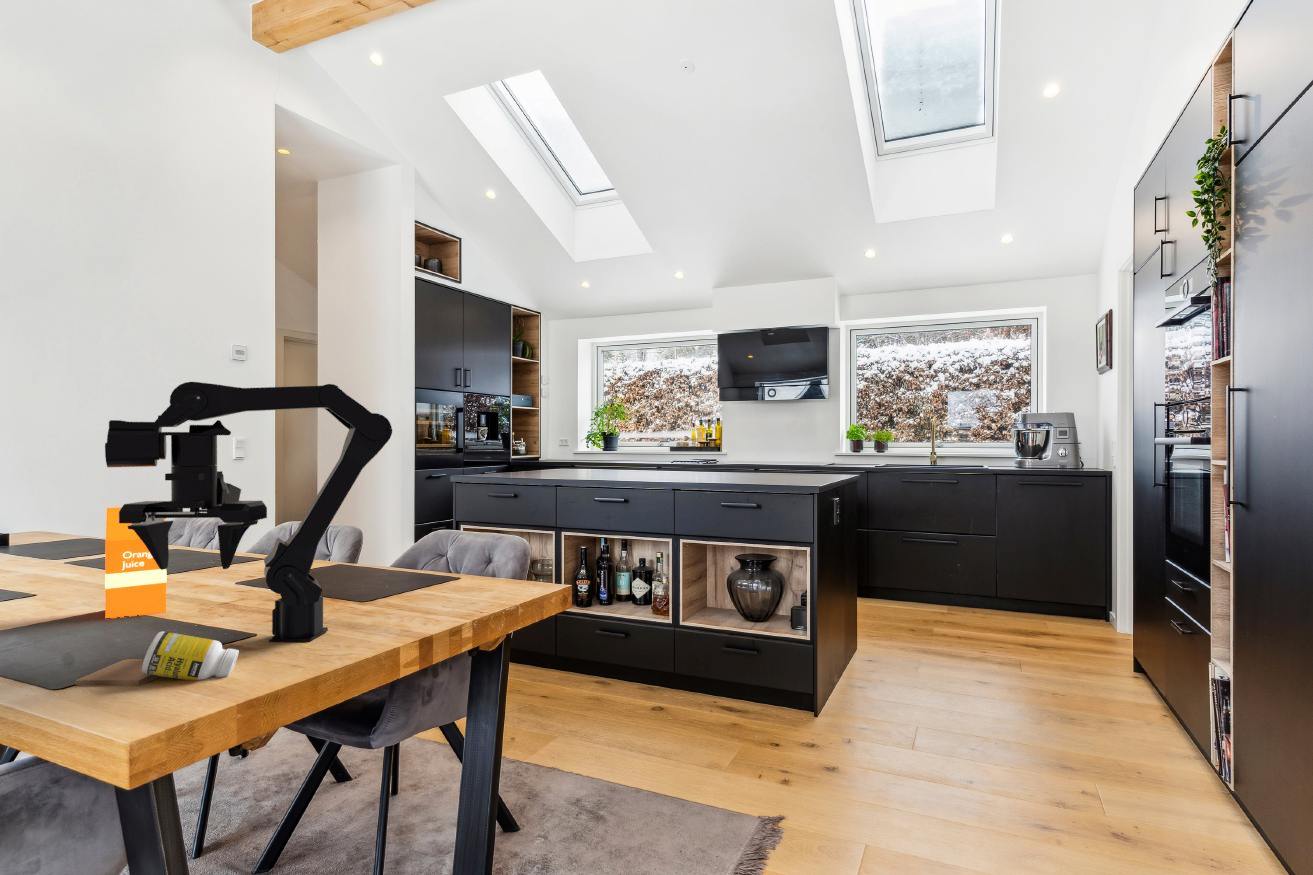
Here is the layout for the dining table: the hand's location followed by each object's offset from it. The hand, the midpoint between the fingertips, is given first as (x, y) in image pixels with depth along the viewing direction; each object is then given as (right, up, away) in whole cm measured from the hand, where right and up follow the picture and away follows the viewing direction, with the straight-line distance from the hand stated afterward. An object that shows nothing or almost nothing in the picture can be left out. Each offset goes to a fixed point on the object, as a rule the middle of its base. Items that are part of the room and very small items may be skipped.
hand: (195, 568), depth 101 cm
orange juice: (-27, -13, +23) cm, 37 cm away
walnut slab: (0, -14, -12) cm, 18 cm away
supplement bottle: (+3, -8, -14) cm, 16 cm away
